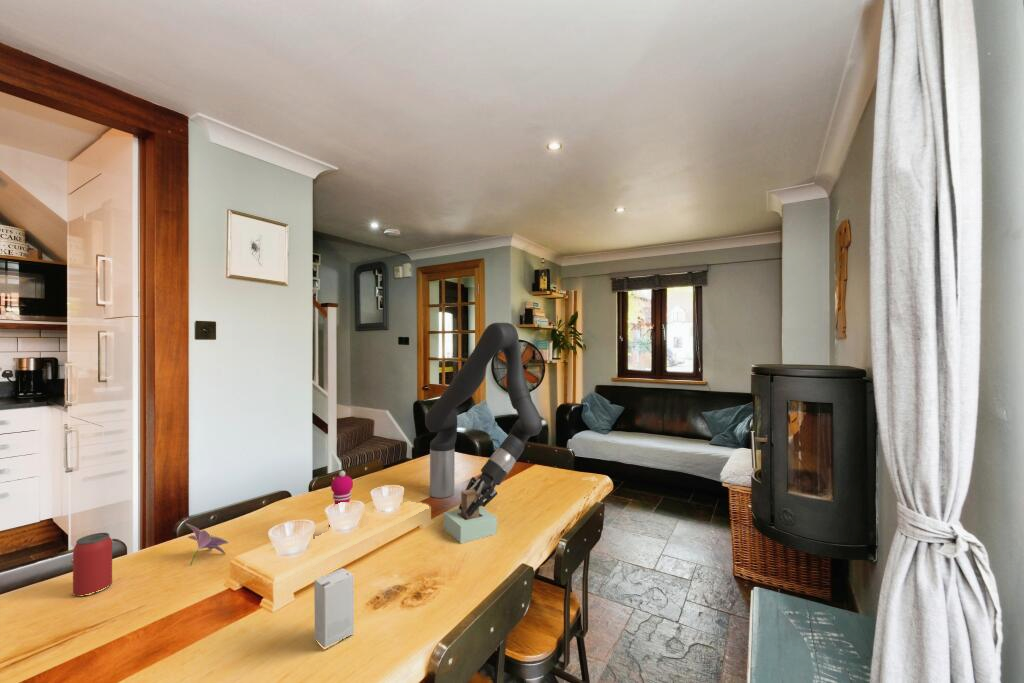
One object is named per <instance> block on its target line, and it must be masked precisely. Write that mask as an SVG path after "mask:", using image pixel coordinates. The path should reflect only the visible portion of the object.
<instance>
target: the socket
mask: <svg viewBox="0 0 1024 683" xmlns="http://www.w3.org/2000/svg"><path fill="white" fill-rule="evenodd" d="M443 530H445V531H446V533H448V534H449V533H450V534H451V535H452V536H453V539H455V540H456V542H458V541H459V542H460V543H462V544H465V542H466V543H469V542H472V540H473V541H476V539H477V540H480V539H483V537H484V538H488V537H491V536H494V534H495V535H497V534H498V517H497V516H496V515H495V514H493V513H491V512H490V511H488V510H487V509H485V508H484V507H482V506H480V507H479V517H477V518H473V519H469V520H464V519H463V518H462V517H461V510H460V509H459V508H458V509H454V510H449V511H445V512H443ZM450 534H449V535H450ZM451 535H450V536H451ZM452 536H451V537H452ZM487 536H488V537H487ZM468 541H469V542H468ZM459 542H458V543H459ZM460 543H459V544H460Z"/></svg>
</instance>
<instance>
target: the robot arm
mask: <svg viewBox="0 0 1024 683" xmlns="http://www.w3.org/2000/svg"><path fill="white" fill-rule="evenodd" d="M501 350H502V352H503V356H504V358H505V361H506V379H505V380H506V381H505V382H506V384H505V385H506V389H507V390H506V392H507V393H508V397H509V401H510V404H511V406H512V408H513V409H514V410H515V411H516V412H517V415H518V417H519V418H518V419H517V420H516V421H515V423H514V424H513V426H512V427H511V429H510V430H509V433H508V435H507V437H505V438H504V440H503V441H502V443H501V444H500V445H499V447H497V449H496V450H495V451H494V452H493V453H492V455H491V456H489V458H488V460H487V461H486V462H485V464H484V465H483V466H482V468H481V469H480V472H481V474H480V476H478V477H477V478H476V477H474V476H472V477H471V478H470V480H469V482H468V484H467V486H466V488H465V490H470V489H471V490H473V489H474V490H475V491H477V496H476V498H475V499H474V501H473V502H474V503H473V502H472V503H471V505H470V506H469V507H468V509H467V510H466V511H465V513H466V514H467V515H468V516H469V517H471V516H472V515H473V513H474V512H475V511H476V509H477V508H478V507H480V506H481V507H482V508H484V507H486V506H487V505H488V504H489V503H490V502H491V501H492V500H493V499H494V498H495V497H496V496H497V495H498V491H497V490H496V486H500V485H501V484H502V482H504V481H505V478H506V477H507V476H508V474H509V473H510V472H511V470H512V469H513V467H514V465H515V464H516V462H517V461H518V459H519V458H520V456H521V455H522V453H523V452H524V450H525V445H526V444H527V442H528V440H529V439H530V438H531V437H535V436H537V435H539V434H540V432H541V431H542V428H543V421H542V418H541V415H540V413H539V411H538V409H537V407H536V405H535V403H534V402H533V399H532V396H531V392H530V389H529V385H528V382H527V379H526V375H525V369H524V365H523V359H522V352H521V346H520V338H519V333H518V330H517V329H516V326H514V324H512V323H509V322H492V323H491V324H489V325H487V327H486V328H485V329H484V331H483V332H482V334H481V336H480V338H479V340H478V342H477V343H476V346H475V347H474V349H473V350H472V352H471V354H469V356H468V358H467V359H466V361H465V362H464V363H463V364H462V366H461V367H460V369H459V370H458V371H457V373H456V374H455V375H454V377H453V379H452V380H451V382H449V385H448V386H447V387H446V389H445V390H444V392H443V393H442V394H441V396H440V397H439V398H438V399H437V400H436V402H434V403H433V404H432V406H431V407H430V408H429V409H428V410H427V413H426V414H425V418H424V424H425V427H426V429H427V430H428V431H430V432H432V433H437V435H436V436H435V437H434V438H433V439H432V440H430V443H429V495H430V496H431V497H432V498H438V499H439V498H440V499H441V498H442V499H444V498H448V497H452V496H454V494H455V468H456V467H455V463H456V462H455V458H456V457H455V444H456V443H457V435H458V434H457V433H458V413H457V411H456V408H457V407H459V406H460V405H461V404H463V403H464V402H465V401H467V400H468V399H470V398H471V397H472V396H473V395H474V394H475V393H476V391H478V389H479V388H480V386H481V385H482V383H483V382H484V380H485V377H486V373H487V367H488V364H489V363H490V361H491V360H492V358H493V357H494V356H495V355H496V354H497V353H498V352H499V351H501ZM478 499H479V500H478ZM458 509H460V510H461V503H460V504H459V506H458Z"/></svg>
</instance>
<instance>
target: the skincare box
mask: <svg viewBox="0 0 1024 683" xmlns="http://www.w3.org/2000/svg"><path fill="white" fill-rule="evenodd" d="M313 584H314V586H313V588H314V591H313V592H314V593H313V594H314V640H315V639H316V640H317V641H318V642H319V643H320V644H321V645H322V646H323V647H327V646H329V645H331V644H333V643H335V642H337V641H340V640H341V639H343V638H344V637H347V636H349V635H351V634H353V633H355V629H354V625H355V623H354V622H355V621H354V618H355V617H354V614H355V613H354V612H355V611H354V607H355V606H354V603H355V602H354V599H355V598H354V592H355V590H354V574H353V572H350V571H348V570H347V569H345V568H340V569H337V570H336V571H333V572H330V573H328V574H326V575H324V576H320V577H318V578H316V579H315V580H314V582H313ZM353 635H354V634H353ZM351 636H352V635H351Z"/></svg>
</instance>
